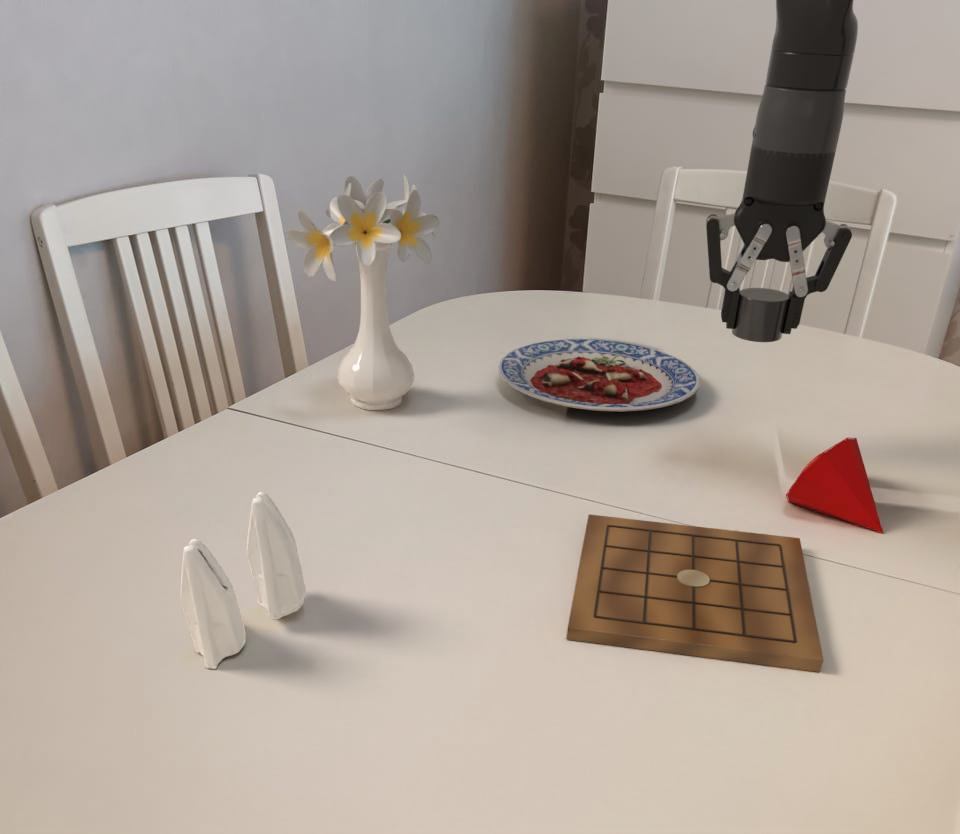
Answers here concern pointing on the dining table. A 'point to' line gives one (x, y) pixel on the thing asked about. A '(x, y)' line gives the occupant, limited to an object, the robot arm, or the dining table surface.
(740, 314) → the dark grey cylinder
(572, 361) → the ceramic plate
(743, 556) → the board
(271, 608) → the shaker set
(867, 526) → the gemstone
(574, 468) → the dining table surface
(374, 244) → the flower vase
